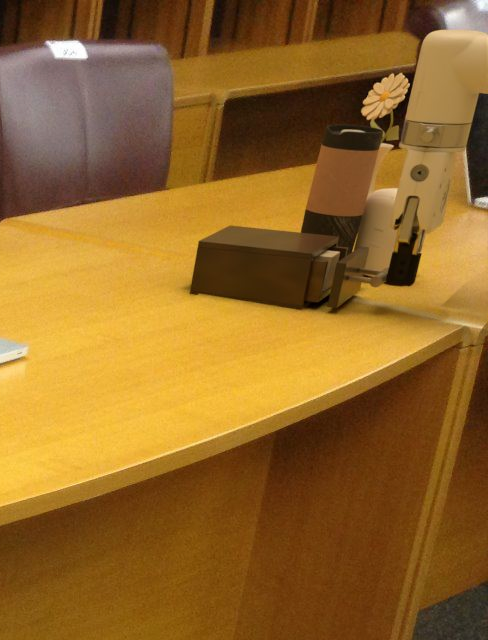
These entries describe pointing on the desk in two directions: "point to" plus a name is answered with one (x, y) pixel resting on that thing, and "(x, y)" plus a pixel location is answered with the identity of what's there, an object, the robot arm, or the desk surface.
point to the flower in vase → (384, 113)
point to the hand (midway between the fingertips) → (399, 283)
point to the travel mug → (342, 182)
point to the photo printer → (378, 229)
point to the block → (329, 266)
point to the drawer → (342, 277)
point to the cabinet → (258, 265)
